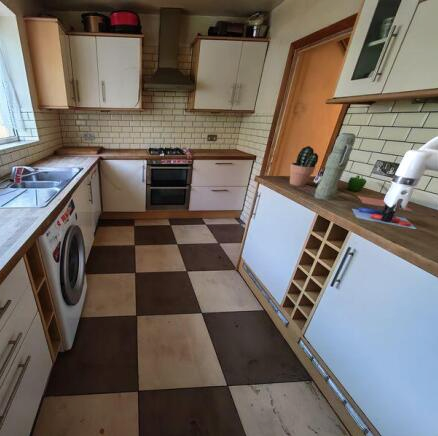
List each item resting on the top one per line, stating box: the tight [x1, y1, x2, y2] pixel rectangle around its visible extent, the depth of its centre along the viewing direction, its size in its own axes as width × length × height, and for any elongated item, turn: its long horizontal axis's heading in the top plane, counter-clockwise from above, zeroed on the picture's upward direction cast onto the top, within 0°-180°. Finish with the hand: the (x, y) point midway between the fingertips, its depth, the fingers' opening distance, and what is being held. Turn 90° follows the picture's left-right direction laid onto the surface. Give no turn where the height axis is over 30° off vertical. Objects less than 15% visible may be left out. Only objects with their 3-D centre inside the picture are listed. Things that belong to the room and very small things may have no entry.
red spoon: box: [370, 214, 413, 227], centre depth 102 cm, size 14×4×2 cm, turn 59°
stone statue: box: [314, 132, 356, 201], centre depth 122 cm, size 9×12×35 cm
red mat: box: [357, 195, 414, 212], centre depth 124 cm, size 20×13×1 cm, turn 59°
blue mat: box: [351, 208, 417, 230], centre depth 106 cm, size 20×13×1 cm, turn 59°
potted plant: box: [289, 145, 319, 187], centre depth 149 cm, size 14×14×25 cm
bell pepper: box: [347, 175, 367, 192], centre depth 143 cm, size 8×8×10 cm
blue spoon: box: [357, 206, 397, 218], centre depth 109 cm, size 14×4×2 cm, turn 59°
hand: (384, 219), depth 103 cm, fingers closed on red spoon, 2 cm apart
